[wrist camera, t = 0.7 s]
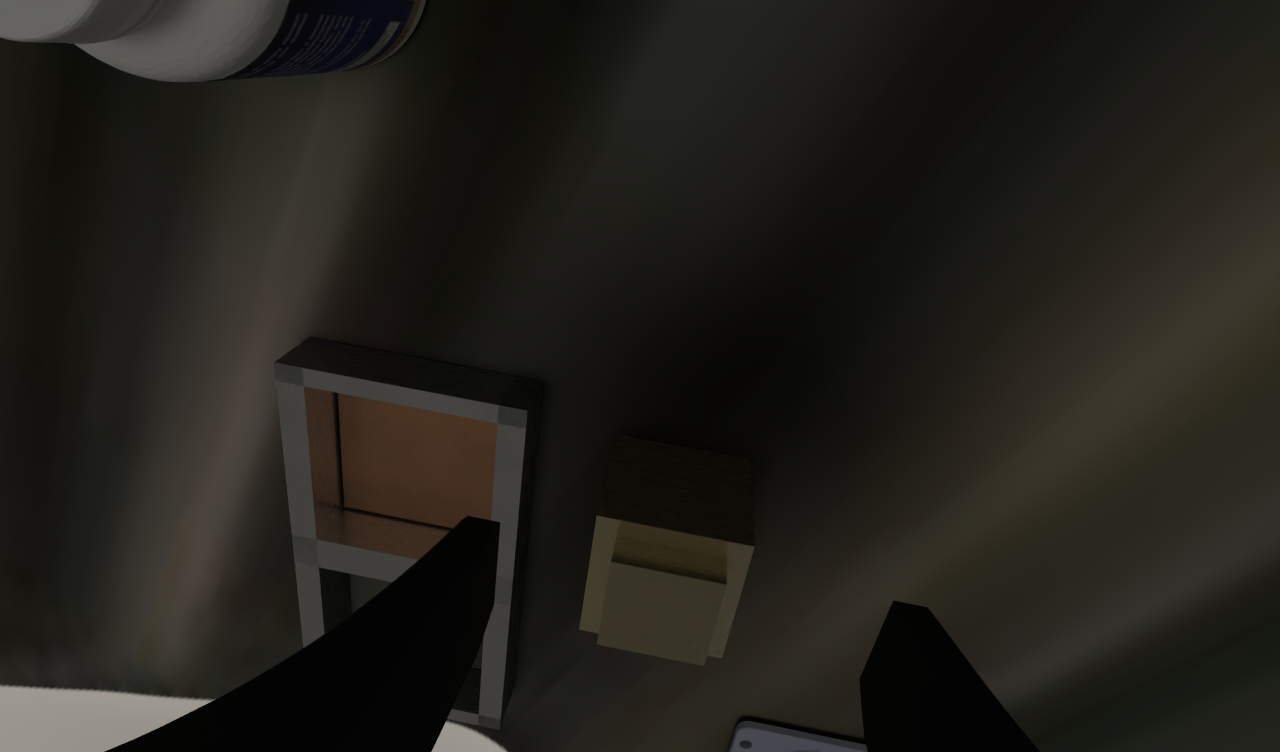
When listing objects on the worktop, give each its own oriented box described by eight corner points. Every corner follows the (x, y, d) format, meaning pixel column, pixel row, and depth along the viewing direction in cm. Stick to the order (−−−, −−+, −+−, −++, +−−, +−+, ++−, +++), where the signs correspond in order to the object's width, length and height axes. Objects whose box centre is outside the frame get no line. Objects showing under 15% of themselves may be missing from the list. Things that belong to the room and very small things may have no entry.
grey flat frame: (513, 687, 30) (499, 729, 28) (333, 650, 30) (308, 689, 28) (543, 381, 23) (527, 410, 21) (309, 337, 23) (274, 362, 21)
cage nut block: (723, 560, 25) (721, 685, 20) (603, 536, 25) (572, 655, 21) (750, 458, 23) (755, 571, 18) (619, 433, 23) (590, 538, 19)
